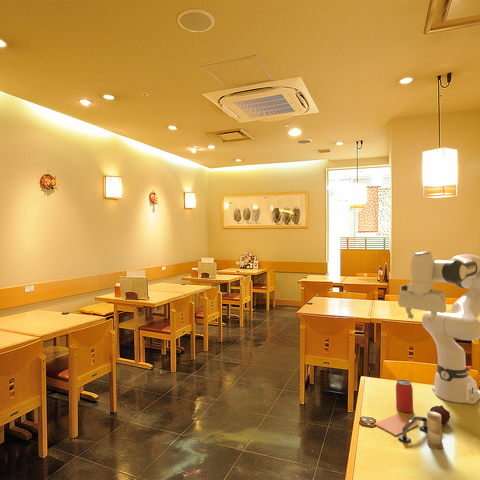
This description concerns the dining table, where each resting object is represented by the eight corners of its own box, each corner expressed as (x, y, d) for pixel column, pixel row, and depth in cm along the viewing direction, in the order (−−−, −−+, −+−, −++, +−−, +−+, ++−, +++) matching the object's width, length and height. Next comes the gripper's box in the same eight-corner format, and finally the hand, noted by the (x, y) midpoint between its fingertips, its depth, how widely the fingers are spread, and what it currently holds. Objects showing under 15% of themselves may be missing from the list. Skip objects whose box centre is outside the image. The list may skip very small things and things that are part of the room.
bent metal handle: (424, 426, 134) (423, 408, 134) (431, 430, 132) (431, 411, 132) (398, 439, 126) (397, 420, 126) (405, 443, 124) (405, 423, 124)
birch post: (432, 439, 126) (431, 409, 126) (446, 446, 122) (445, 415, 122) (424, 443, 123) (423, 413, 123) (437, 450, 119) (437, 419, 119)
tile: (396, 415, 144) (396, 413, 144) (418, 425, 135) (418, 424, 135) (374, 424, 137) (374, 423, 137) (396, 436, 128) (396, 434, 128)
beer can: (415, 414, 144) (414, 385, 144) (398, 412, 146) (397, 384, 146) (410, 406, 151) (409, 379, 151) (394, 405, 152) (394, 378, 152)
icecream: (429, 397, 145) (423, 415, 133) (449, 397, 141) (444, 416, 129) (434, 413, 145) (429, 433, 133) (454, 414, 140) (450, 434, 128)
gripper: (449, 291, 141) (449, 324, 140) (405, 286, 159) (404, 316, 158) (440, 290, 138) (440, 325, 137) (396, 286, 156) (395, 316, 155)
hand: (420, 320), depth 148 cm, fingers open, 8 cm apart
